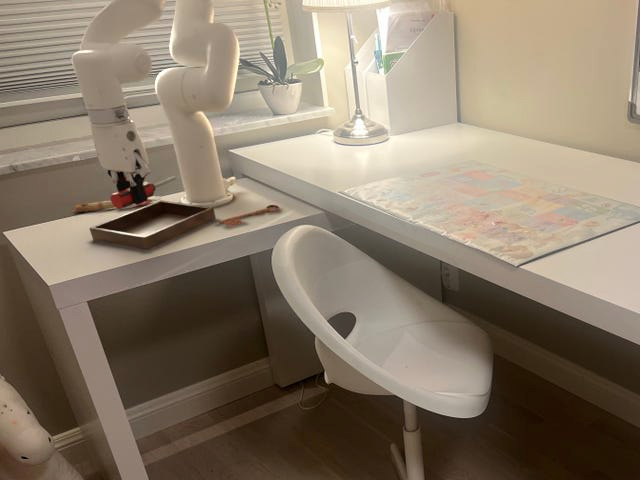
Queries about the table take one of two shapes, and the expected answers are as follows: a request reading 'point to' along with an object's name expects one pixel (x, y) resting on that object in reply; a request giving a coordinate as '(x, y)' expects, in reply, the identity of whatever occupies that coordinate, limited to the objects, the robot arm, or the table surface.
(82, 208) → the paintbrush
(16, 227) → the table surface
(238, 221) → the key
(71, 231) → the table surface
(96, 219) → the table surface
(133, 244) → the wooden tray
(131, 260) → the table surface
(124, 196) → the screwdriver
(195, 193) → the robot arm
